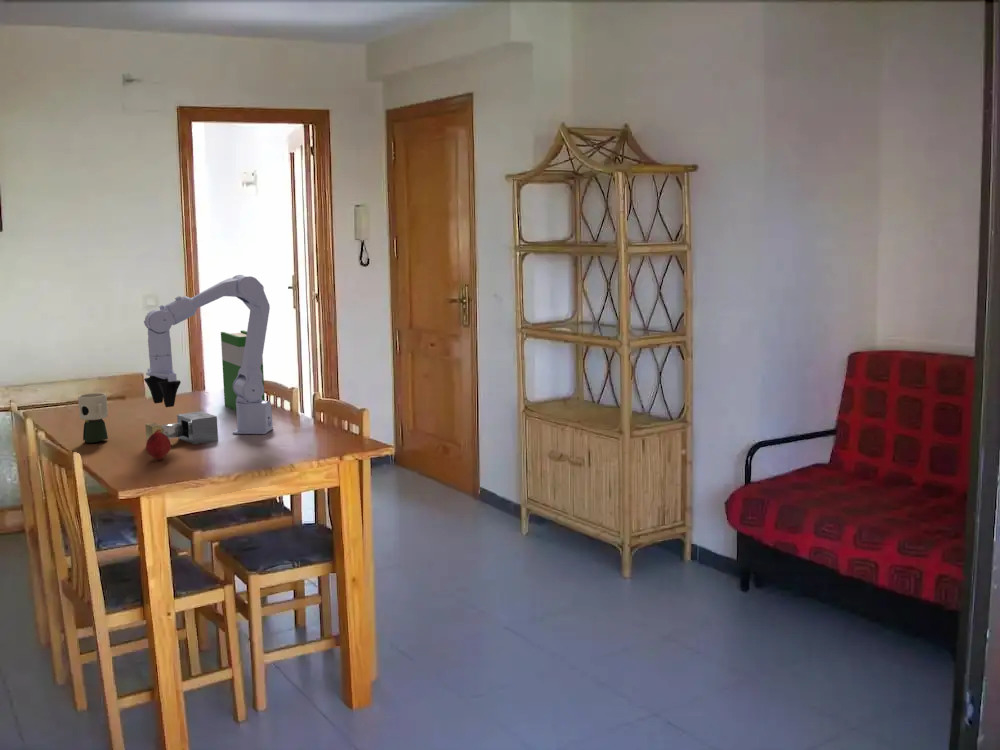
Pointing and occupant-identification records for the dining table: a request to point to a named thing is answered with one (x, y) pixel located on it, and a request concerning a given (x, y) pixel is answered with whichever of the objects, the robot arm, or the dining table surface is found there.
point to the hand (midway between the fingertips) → (164, 404)
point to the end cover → (165, 430)
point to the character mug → (93, 416)
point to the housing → (198, 427)
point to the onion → (158, 445)
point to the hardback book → (233, 364)
